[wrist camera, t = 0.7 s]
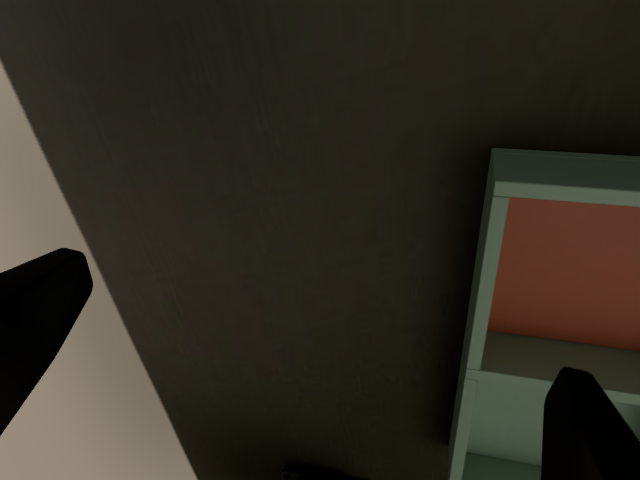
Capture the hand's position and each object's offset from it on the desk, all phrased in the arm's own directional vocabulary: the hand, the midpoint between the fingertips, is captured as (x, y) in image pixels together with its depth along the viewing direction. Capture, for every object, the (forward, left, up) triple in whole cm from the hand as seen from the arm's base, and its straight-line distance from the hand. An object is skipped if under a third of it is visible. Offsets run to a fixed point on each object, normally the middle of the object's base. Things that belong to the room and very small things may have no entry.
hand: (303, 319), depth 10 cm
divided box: (-11, -9, -14) cm, 20 cm away
